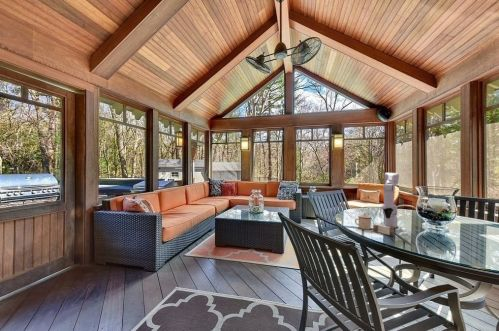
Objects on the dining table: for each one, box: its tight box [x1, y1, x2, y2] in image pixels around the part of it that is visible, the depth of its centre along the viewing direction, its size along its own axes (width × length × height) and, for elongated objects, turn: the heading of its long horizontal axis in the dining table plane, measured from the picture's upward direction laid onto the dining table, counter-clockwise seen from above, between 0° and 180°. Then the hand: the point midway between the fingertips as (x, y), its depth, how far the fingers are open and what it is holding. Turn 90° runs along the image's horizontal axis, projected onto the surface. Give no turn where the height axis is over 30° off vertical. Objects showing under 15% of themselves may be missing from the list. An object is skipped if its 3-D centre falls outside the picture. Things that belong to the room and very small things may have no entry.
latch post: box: [372, 224, 379, 233], centre depth 177 cm, size 2×2×5 cm, turn 26°
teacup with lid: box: [354, 212, 372, 230], centre depth 186 cm, size 12×9×12 cm
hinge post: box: [389, 226, 395, 237], centre depth 167 cm, size 2×2×7 cm
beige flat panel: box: [373, 223, 390, 235], centre depth 174 cm, size 12×1×5 cm, turn 27°
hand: (387, 218), depth 177 cm, fingers closed
